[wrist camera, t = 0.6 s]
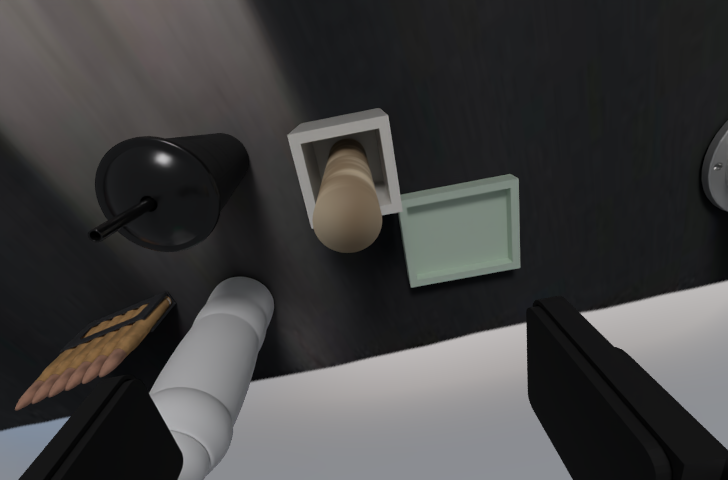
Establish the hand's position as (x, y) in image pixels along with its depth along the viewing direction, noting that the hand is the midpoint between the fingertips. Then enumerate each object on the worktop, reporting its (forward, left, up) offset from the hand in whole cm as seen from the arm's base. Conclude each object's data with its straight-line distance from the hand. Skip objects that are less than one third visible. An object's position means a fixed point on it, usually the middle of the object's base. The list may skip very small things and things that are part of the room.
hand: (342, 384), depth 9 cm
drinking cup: (+12, -2, -30) cm, 33 cm away
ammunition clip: (+28, +13, -30) cm, 43 cm away
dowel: (0, 0, -29) cm, 29 cm away
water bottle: (+15, +14, -30) cm, 36 cm away
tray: (-10, +10, -30) cm, 33 cm away
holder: (0, 0, -30) cm, 30 cm away
